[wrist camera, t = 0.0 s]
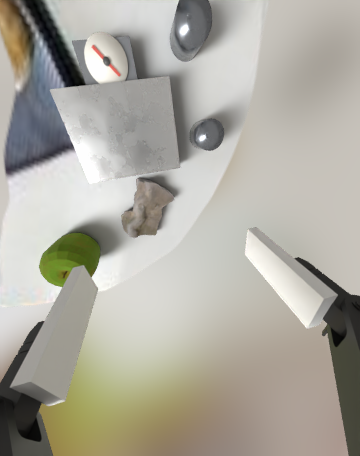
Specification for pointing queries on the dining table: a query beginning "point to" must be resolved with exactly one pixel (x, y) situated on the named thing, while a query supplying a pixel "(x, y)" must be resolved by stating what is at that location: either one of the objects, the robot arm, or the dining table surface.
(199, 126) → the cylinder
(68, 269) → the apple
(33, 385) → the robot arm
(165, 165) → the platform
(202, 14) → the cylinder
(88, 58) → the scale
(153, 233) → the stone
